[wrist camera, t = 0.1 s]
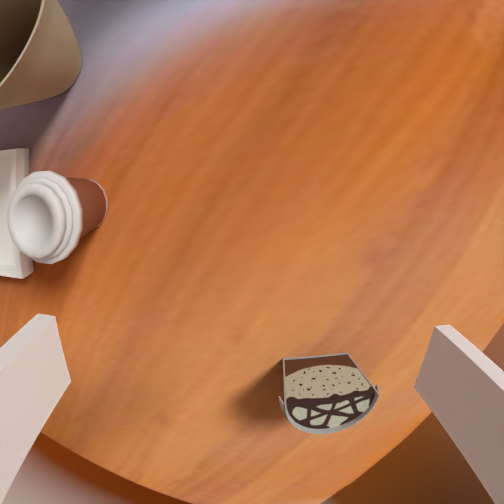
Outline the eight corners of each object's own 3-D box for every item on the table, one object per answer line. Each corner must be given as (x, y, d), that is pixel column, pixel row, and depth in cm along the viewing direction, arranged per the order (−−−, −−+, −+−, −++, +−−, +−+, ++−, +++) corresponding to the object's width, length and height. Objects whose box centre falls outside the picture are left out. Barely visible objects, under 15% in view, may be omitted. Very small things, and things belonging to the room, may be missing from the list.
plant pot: (104, 5, 28) (51, -54, 13) (114, 100, 32) (43, 66, 17) (16, 48, 28) (-53, 21, 13) (21, 139, 32) (-63, 138, 17)
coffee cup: (79, 253, 37) (28, 286, 25) (46, 194, 34) (-13, 207, 23) (131, 216, 36) (88, 239, 24) (96, 152, 34) (42, 150, 22)
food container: (271, 392, 43) (278, 441, 34) (271, 358, 42) (280, 407, 32) (351, 384, 44) (373, 428, 34) (357, 351, 42) (383, 394, 32)
